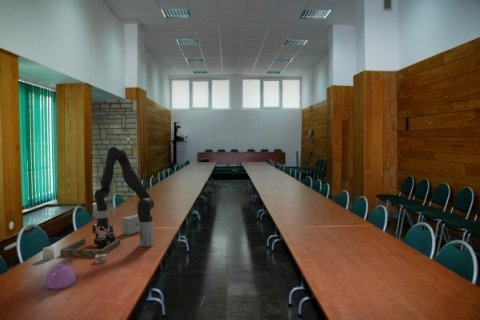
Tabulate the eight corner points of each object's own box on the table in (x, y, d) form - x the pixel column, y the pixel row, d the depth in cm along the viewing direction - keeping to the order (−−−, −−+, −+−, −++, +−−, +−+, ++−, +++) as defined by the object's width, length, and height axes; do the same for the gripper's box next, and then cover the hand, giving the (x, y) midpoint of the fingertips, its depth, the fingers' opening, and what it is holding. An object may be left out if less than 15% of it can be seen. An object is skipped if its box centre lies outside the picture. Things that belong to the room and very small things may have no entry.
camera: (105, 242, 246) (105, 229, 245) (117, 244, 242) (116, 230, 242) (88, 249, 231) (88, 234, 231) (100, 250, 228) (100, 236, 227)
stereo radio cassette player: (141, 228, 286) (140, 204, 285) (148, 229, 282) (148, 205, 281) (121, 234, 268) (120, 209, 267) (128, 235, 264) (127, 210, 263)
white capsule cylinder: (56, 257, 215) (55, 246, 214) (50, 260, 209) (49, 249, 208) (47, 257, 215) (46, 246, 215) (40, 260, 209) (40, 249, 209)
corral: (120, 244, 241) (120, 238, 241) (102, 256, 215) (102, 250, 215) (82, 243, 243) (82, 238, 243) (60, 255, 217) (60, 249, 217)
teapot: (83, 276, 185) (82, 256, 184) (66, 292, 165) (66, 270, 164) (56, 276, 184) (56, 257, 183) (37, 293, 164) (36, 271, 163)
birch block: (105, 260, 210) (105, 253, 210) (106, 262, 206) (106, 255, 206) (95, 261, 207) (95, 255, 207) (95, 263, 204) (95, 257, 204)
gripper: (114, 215, 246) (115, 237, 247) (95, 215, 248) (96, 237, 249) (109, 217, 239) (110, 240, 240) (90, 217, 240) (90, 240, 241)
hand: (103, 238), depth 244 cm, fingers open, 8 cm apart
